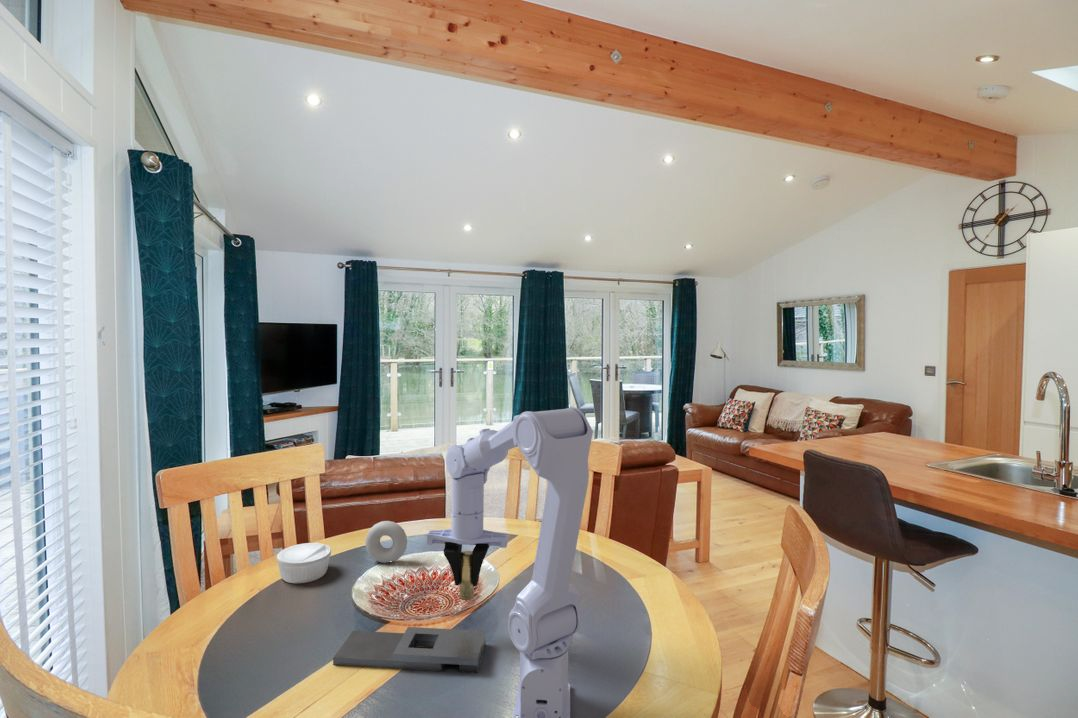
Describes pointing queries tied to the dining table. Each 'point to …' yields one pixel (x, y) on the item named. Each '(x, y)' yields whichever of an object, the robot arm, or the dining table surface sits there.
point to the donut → (378, 550)
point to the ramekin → (303, 562)
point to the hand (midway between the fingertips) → (466, 583)
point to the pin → (466, 575)
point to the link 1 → (378, 651)
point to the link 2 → (443, 647)
